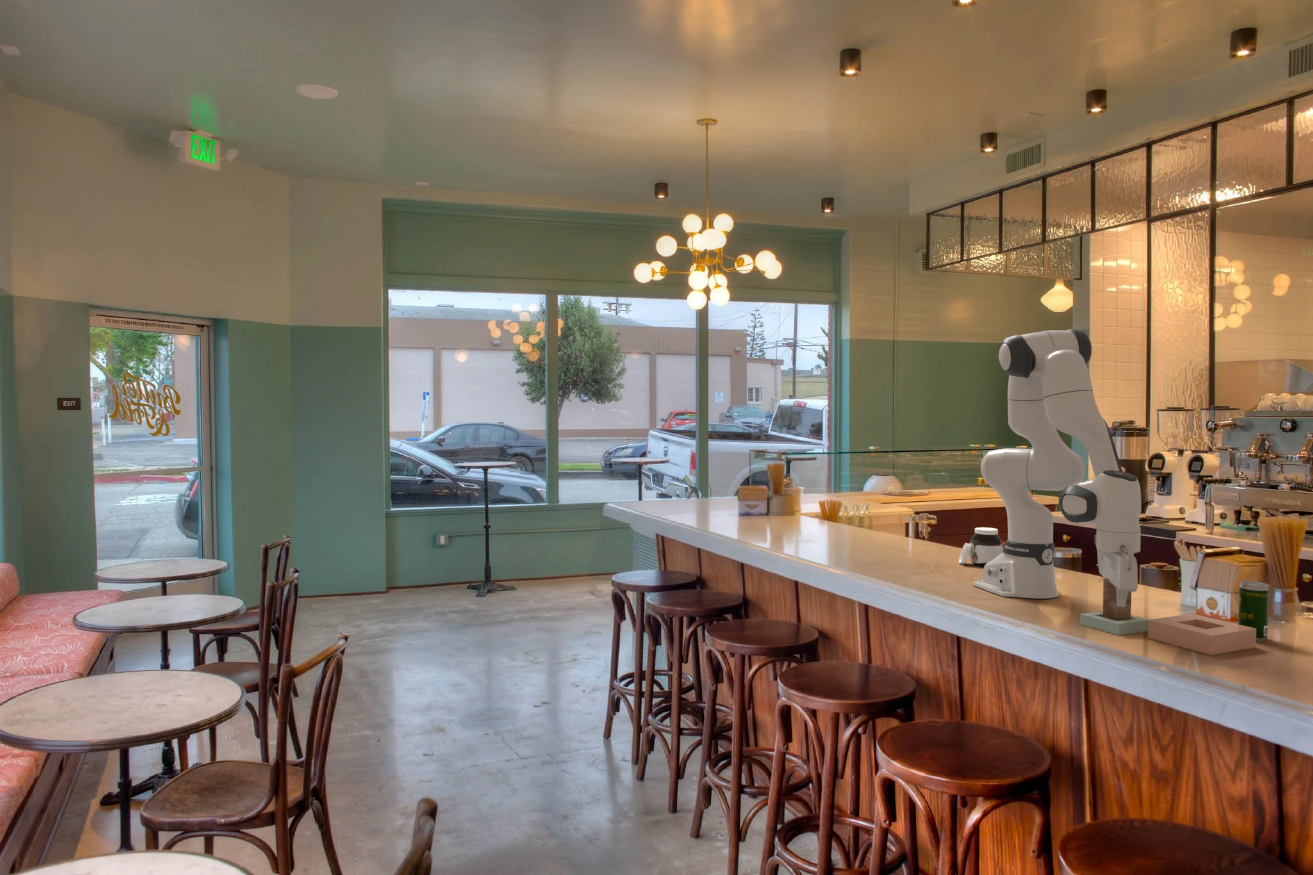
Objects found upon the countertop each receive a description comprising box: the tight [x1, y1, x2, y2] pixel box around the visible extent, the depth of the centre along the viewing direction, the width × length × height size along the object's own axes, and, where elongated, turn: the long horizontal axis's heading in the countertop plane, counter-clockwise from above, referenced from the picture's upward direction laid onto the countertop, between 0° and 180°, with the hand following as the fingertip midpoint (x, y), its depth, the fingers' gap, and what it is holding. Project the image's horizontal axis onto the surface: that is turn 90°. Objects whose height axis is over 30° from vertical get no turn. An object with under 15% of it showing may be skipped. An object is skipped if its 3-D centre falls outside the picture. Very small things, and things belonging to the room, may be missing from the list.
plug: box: [1102, 577, 1132, 621], centre depth 196 cm, size 4×4×10 cm
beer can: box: [1237, 580, 1270, 642], centre depth 187 cm, size 5×5×12 cm
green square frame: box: [1079, 610, 1151, 636], centre depth 196 cm, size 10×10×2 cm
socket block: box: [1147, 613, 1257, 656], centre depth 184 cm, size 14×14×4 cm
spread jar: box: [958, 526, 1004, 568], centre depth 272 cm, size 12×11×12 cm
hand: (1116, 602), depth 196 cm, fingers closed on plug, 5 cm apart
